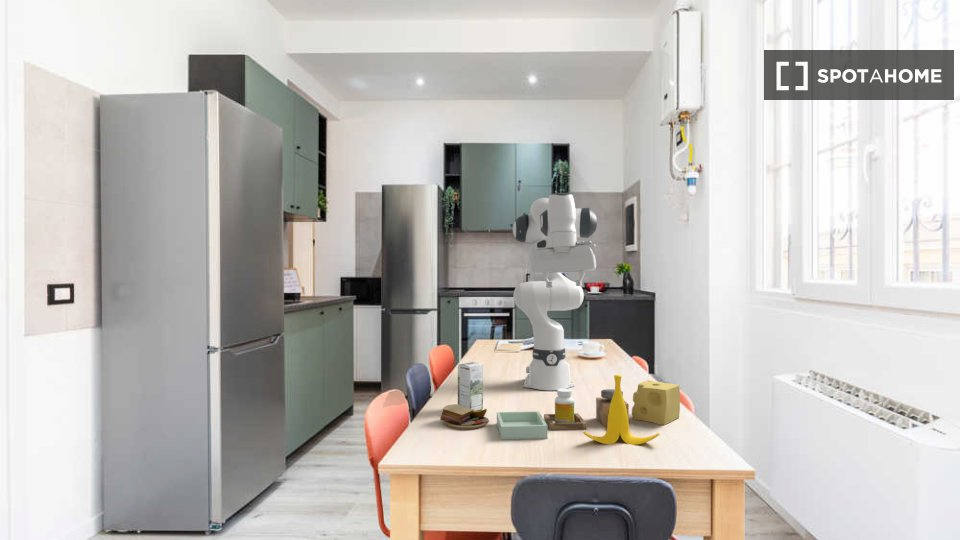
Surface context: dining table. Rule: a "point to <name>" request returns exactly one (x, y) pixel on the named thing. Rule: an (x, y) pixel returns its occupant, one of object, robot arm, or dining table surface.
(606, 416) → the tan square block
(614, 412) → the banana peel
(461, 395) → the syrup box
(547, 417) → the brown wooden frame
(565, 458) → the dining table surface
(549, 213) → the robot arm
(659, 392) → the cheese
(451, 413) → the toy sandwich meal
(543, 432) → the tray
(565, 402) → the supplement bottle
